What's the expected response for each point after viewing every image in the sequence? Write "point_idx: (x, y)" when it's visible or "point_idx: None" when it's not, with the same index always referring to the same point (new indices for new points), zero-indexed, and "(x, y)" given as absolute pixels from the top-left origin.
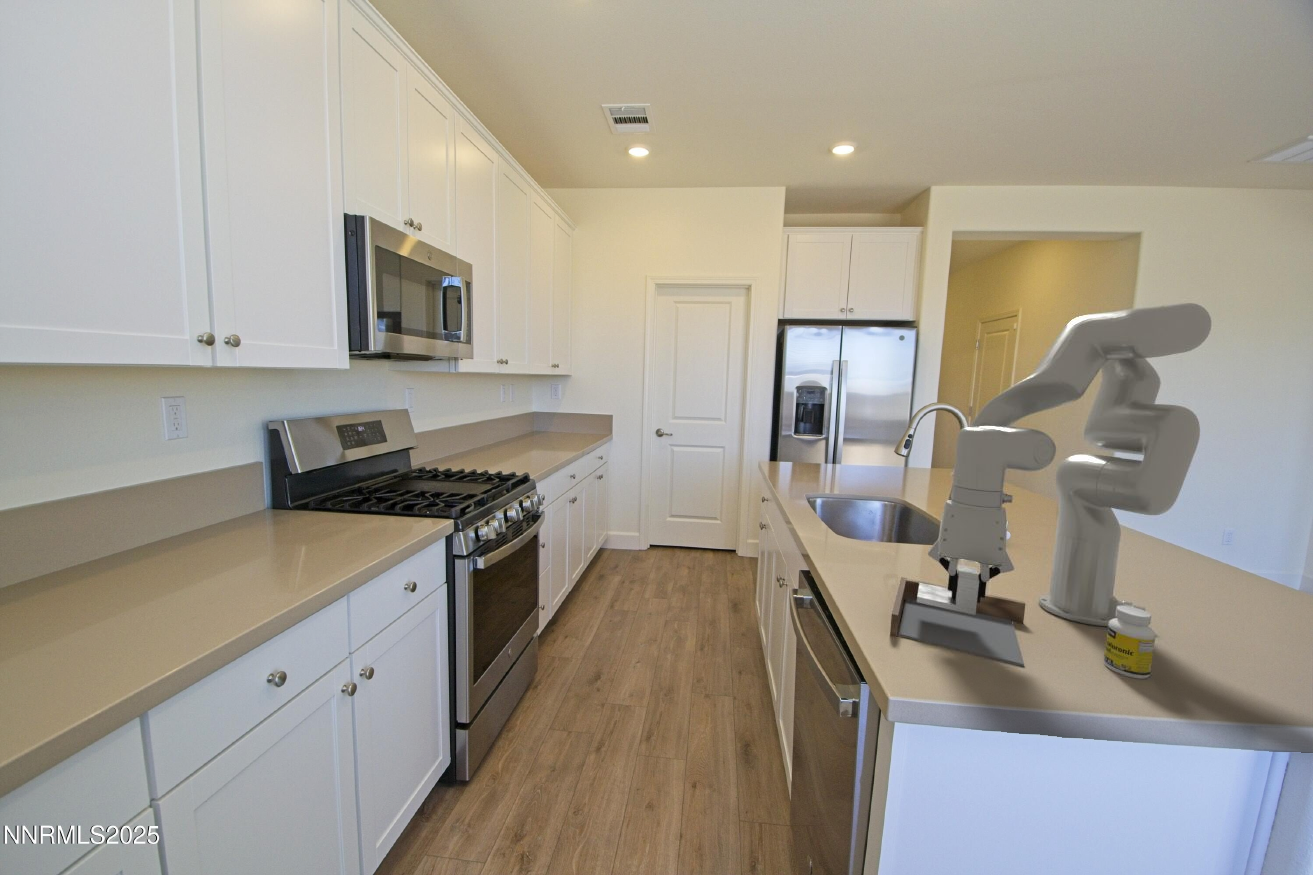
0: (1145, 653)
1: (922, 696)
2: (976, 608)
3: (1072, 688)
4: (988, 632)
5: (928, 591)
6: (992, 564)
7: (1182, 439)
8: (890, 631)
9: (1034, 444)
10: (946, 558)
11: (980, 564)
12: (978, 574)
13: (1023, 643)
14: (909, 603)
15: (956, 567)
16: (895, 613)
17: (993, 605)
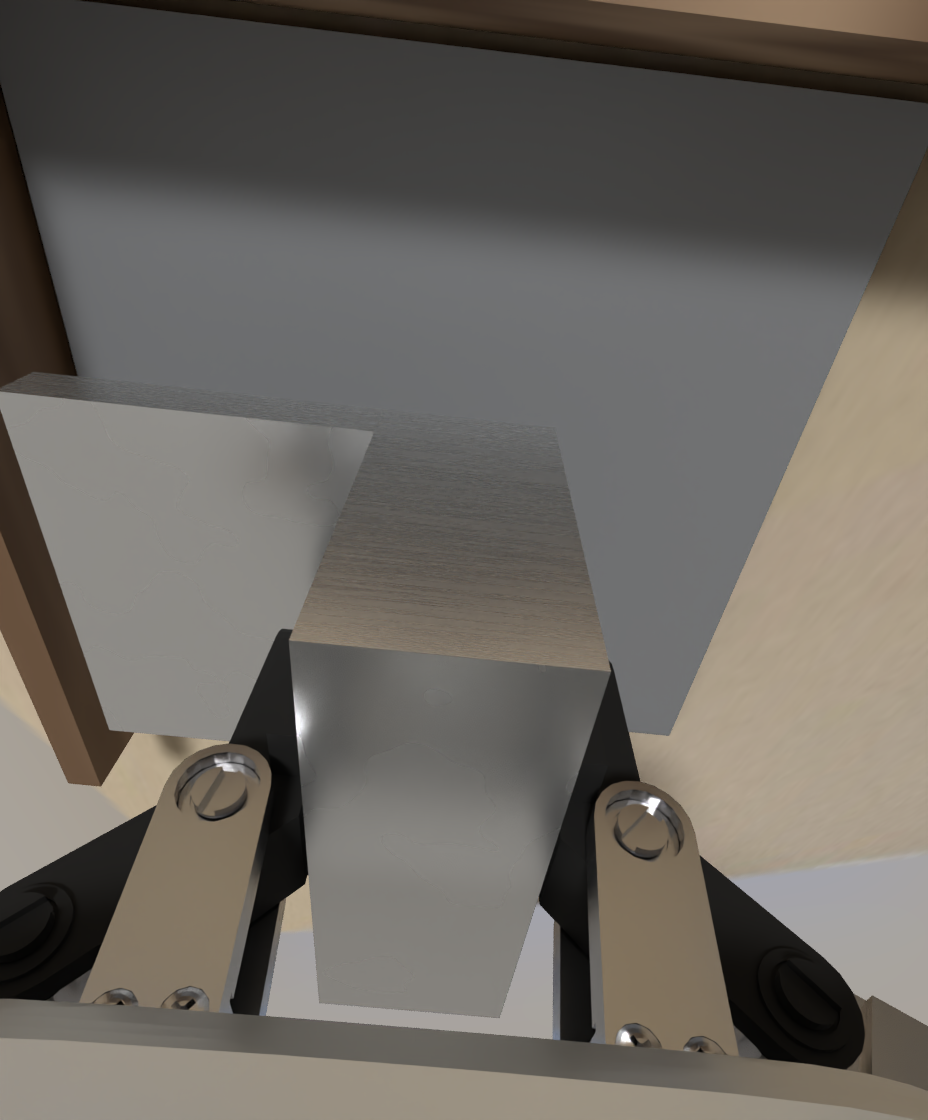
0: None
1: (312, 925)
2: (655, 40)
3: (781, 795)
4: (615, 484)
5: (149, 600)
6: None
7: None
8: None
9: None
10: (64, 983)
11: (593, 1002)
12: (559, 840)
13: (794, 505)
14: (60, 171)
15: (267, 985)
16: (82, 774)
17: (840, 54)
